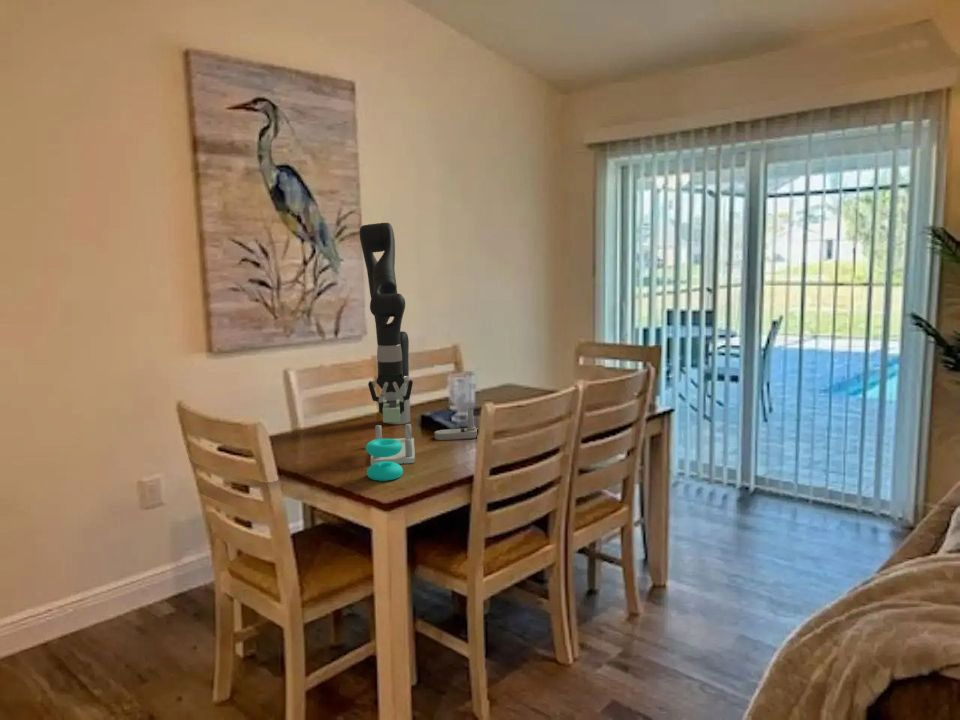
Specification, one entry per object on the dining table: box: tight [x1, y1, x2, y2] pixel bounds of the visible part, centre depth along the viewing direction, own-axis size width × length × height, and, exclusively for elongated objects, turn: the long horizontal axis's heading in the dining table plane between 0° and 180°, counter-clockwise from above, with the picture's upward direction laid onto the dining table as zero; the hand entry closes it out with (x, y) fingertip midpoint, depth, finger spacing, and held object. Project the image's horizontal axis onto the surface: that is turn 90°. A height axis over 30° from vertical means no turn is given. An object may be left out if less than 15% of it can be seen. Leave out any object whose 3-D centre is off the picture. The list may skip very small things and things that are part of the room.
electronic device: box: [434, 407, 479, 441], centre depth 250 cm, size 5×10×15 cm
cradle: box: [370, 423, 416, 466], centre depth 232 cm, size 24×13×6 cm, turn 6°
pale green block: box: [382, 399, 400, 423], centre depth 231 cm, size 14×5×5 cm, turn 6°
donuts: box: [365, 438, 404, 482], centre depth 208 cm, size 10×10×10 cm
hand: (391, 413), depth 231 cm, fingers closed on pale green block, 5 cm apart
